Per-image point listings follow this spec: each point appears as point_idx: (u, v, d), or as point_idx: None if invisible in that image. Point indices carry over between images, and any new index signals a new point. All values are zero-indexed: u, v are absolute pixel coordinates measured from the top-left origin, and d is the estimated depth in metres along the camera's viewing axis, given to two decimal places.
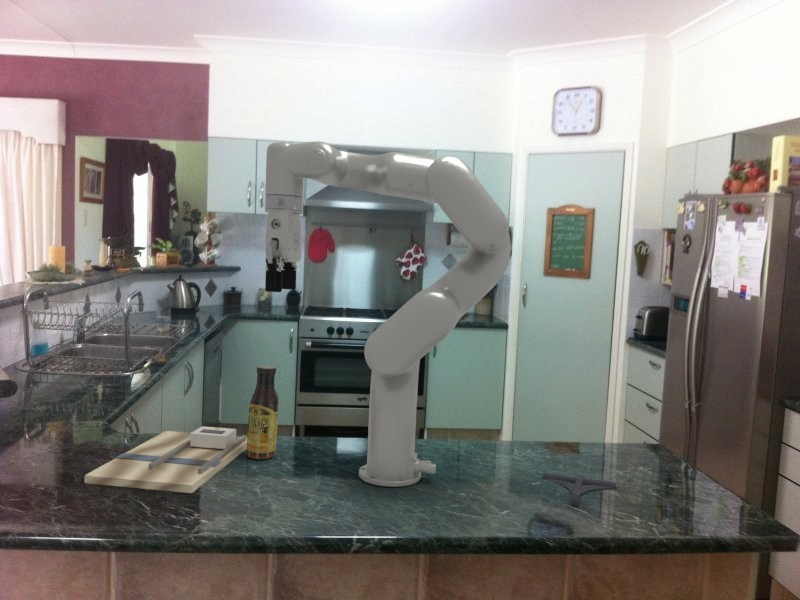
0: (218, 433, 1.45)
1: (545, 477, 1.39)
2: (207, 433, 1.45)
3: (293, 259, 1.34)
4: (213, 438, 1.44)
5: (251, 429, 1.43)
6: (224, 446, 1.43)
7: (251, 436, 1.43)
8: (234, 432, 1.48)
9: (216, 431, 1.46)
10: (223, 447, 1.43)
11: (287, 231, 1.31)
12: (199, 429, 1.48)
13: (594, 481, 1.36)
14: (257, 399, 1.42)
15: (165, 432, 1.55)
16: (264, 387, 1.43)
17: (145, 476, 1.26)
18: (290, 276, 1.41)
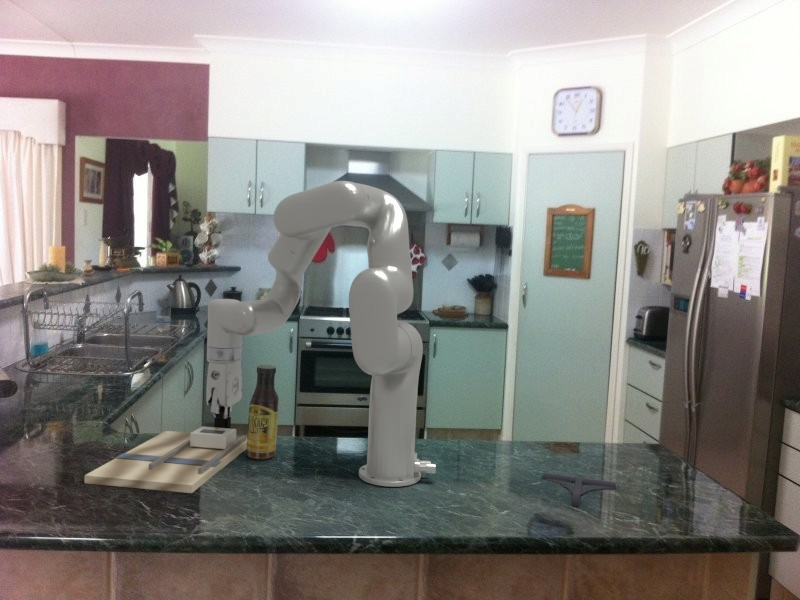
0: (218, 433, 1.45)
1: (545, 477, 1.39)
2: (207, 433, 1.45)
3: (232, 403, 1.49)
4: (213, 438, 1.44)
5: (251, 429, 1.43)
6: (224, 446, 1.43)
7: (251, 436, 1.43)
8: (234, 432, 1.48)
9: (216, 431, 1.46)
10: (223, 447, 1.43)
11: (225, 381, 1.46)
12: (199, 429, 1.48)
13: (594, 481, 1.36)
14: (257, 399, 1.42)
15: (165, 432, 1.55)
16: (264, 387, 1.43)
17: (145, 476, 1.26)
18: None
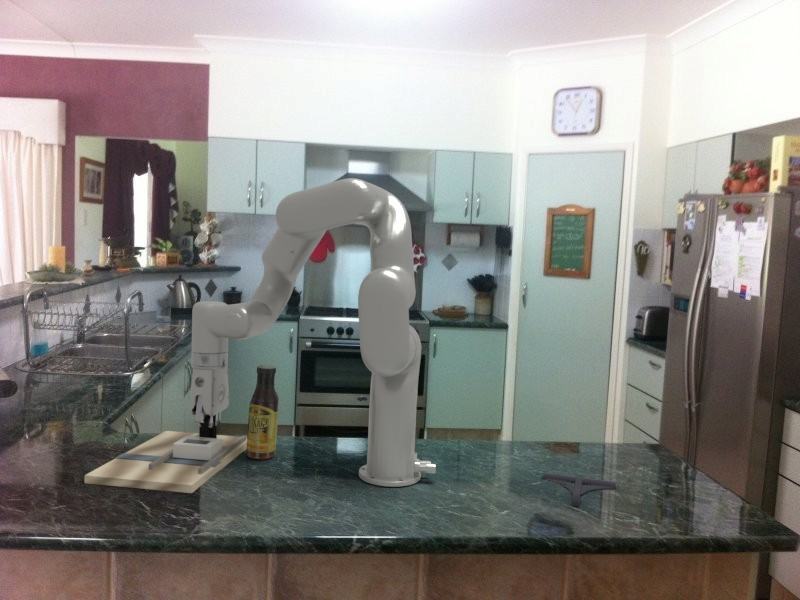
0: (202, 443, 1.37)
1: (545, 477, 1.39)
2: (191, 443, 1.37)
3: (218, 411, 1.41)
4: (197, 449, 1.36)
5: (251, 429, 1.43)
6: (209, 457, 1.35)
7: (251, 436, 1.43)
8: (220, 442, 1.40)
9: (200, 441, 1.38)
10: (208, 458, 1.36)
11: (210, 389, 1.38)
12: (182, 438, 1.40)
13: (594, 481, 1.36)
14: (257, 399, 1.42)
15: (165, 432, 1.55)
16: (264, 387, 1.43)
17: (145, 476, 1.26)
18: None
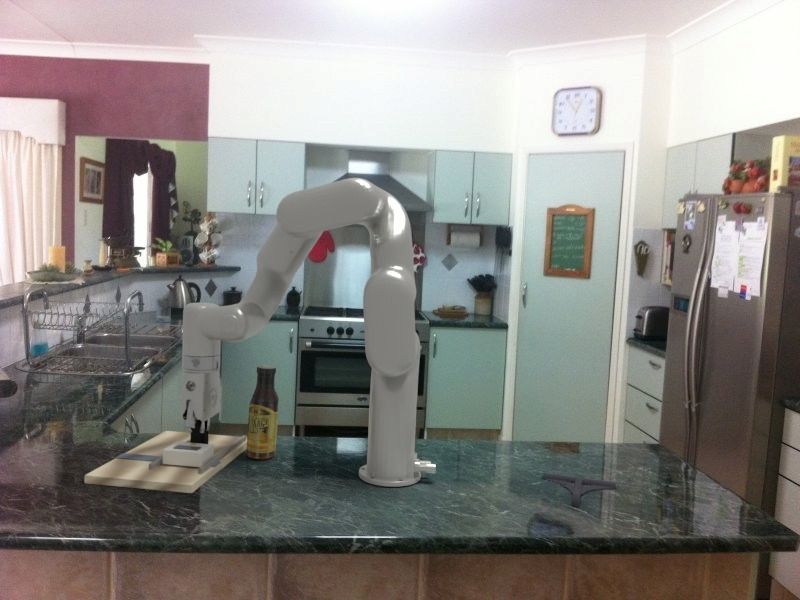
0: (193, 449, 1.33)
1: (545, 477, 1.39)
2: (181, 450, 1.32)
3: (210, 416, 1.37)
4: (188, 455, 1.31)
5: (251, 429, 1.43)
6: (200, 464, 1.31)
7: (251, 436, 1.43)
8: (211, 448, 1.36)
9: (191, 447, 1.34)
10: (199, 465, 1.31)
11: (201, 393, 1.34)
12: (173, 444, 1.36)
13: (594, 481, 1.36)
14: (257, 399, 1.42)
15: (165, 432, 1.55)
16: (264, 387, 1.43)
17: (145, 476, 1.26)
18: None
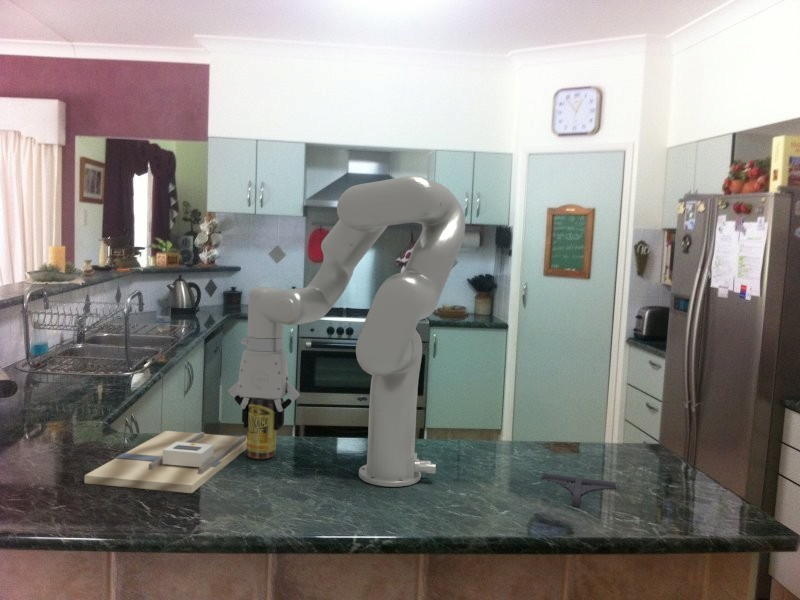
0: (193, 450, 1.33)
1: (545, 477, 1.39)
2: (181, 450, 1.32)
3: (252, 396, 1.42)
4: (188, 455, 1.31)
5: (250, 429, 1.43)
6: (199, 464, 1.31)
7: (251, 435, 1.43)
8: (211, 448, 1.36)
9: (191, 447, 1.34)
10: (198, 465, 1.31)
11: None
12: (173, 444, 1.36)
13: (594, 481, 1.36)
14: (256, 399, 1.42)
15: (165, 432, 1.55)
16: None
17: (145, 476, 1.26)
18: None
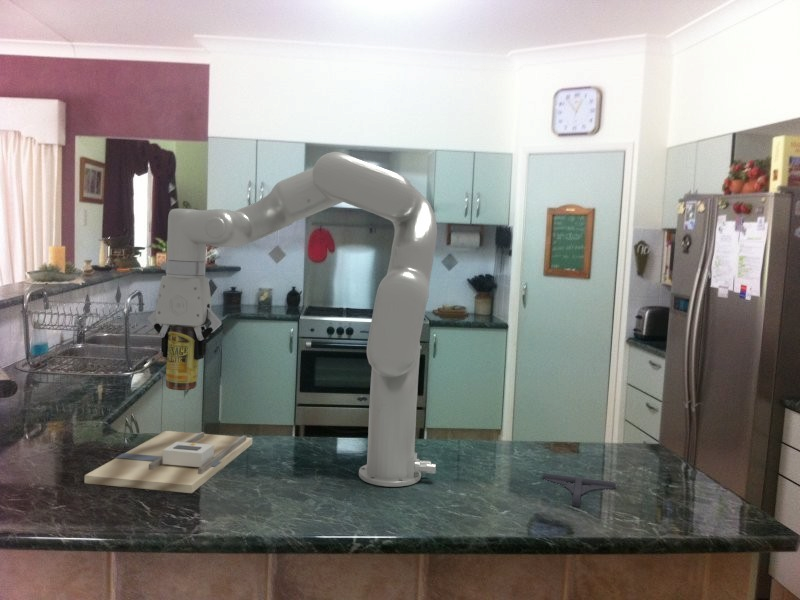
0: (193, 450, 1.33)
1: (545, 477, 1.39)
2: (181, 450, 1.32)
3: (171, 323, 1.35)
4: (188, 455, 1.31)
5: (169, 358, 1.35)
6: (199, 464, 1.31)
7: (169, 365, 1.35)
8: (211, 448, 1.36)
9: (191, 447, 1.34)
10: (198, 465, 1.31)
11: (158, 294, 1.35)
12: (173, 444, 1.36)
13: (594, 481, 1.36)
14: (175, 326, 1.35)
15: (165, 432, 1.55)
16: None
17: (145, 476, 1.26)
18: None
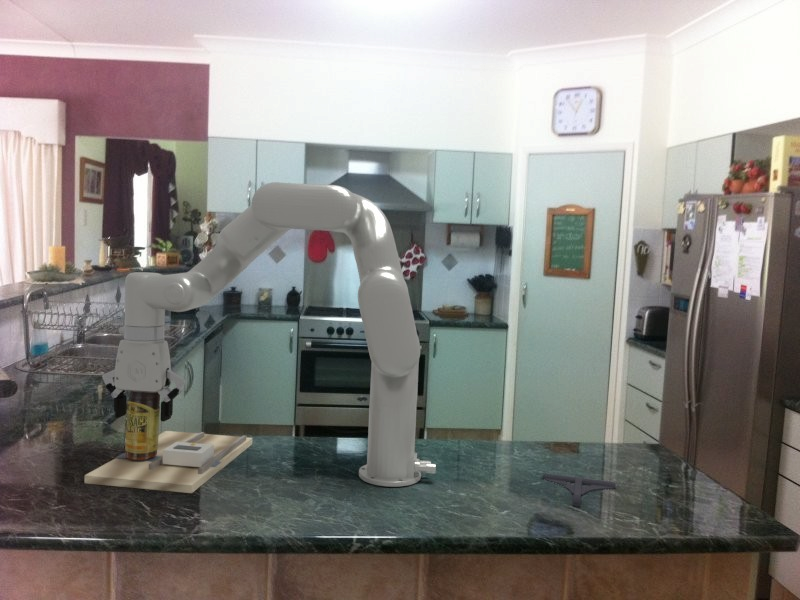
0: (193, 450, 1.33)
1: (545, 477, 1.39)
2: (181, 450, 1.32)
3: (129, 388, 1.33)
4: (188, 455, 1.31)
5: (128, 428, 1.33)
6: (199, 464, 1.31)
7: (128, 435, 1.33)
8: (211, 448, 1.36)
9: (191, 447, 1.34)
10: (198, 465, 1.31)
11: (116, 360, 1.33)
12: (173, 444, 1.36)
13: (594, 481, 1.36)
14: (134, 396, 1.33)
15: (165, 432, 1.55)
16: None
17: (145, 476, 1.26)
18: None
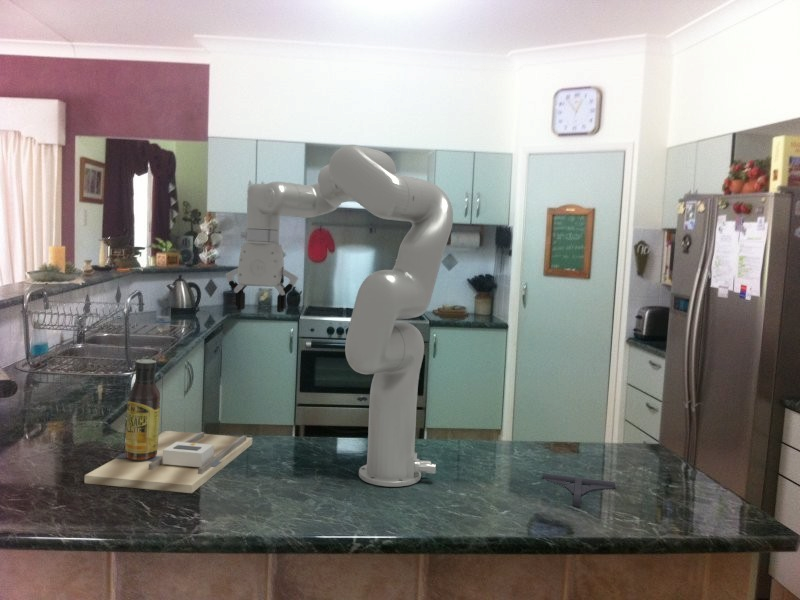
0: (193, 450, 1.33)
1: (544, 477, 1.39)
2: (181, 450, 1.32)
3: (251, 283, 1.55)
4: (188, 455, 1.31)
5: (128, 428, 1.33)
6: (199, 464, 1.31)
7: (128, 435, 1.33)
8: (211, 448, 1.36)
9: (191, 447, 1.34)
10: (198, 465, 1.31)
11: (239, 259, 1.55)
12: (173, 444, 1.36)
13: (594, 481, 1.36)
14: (134, 396, 1.33)
15: (165, 432, 1.55)
16: (142, 383, 1.33)
17: (145, 476, 1.26)
18: None
